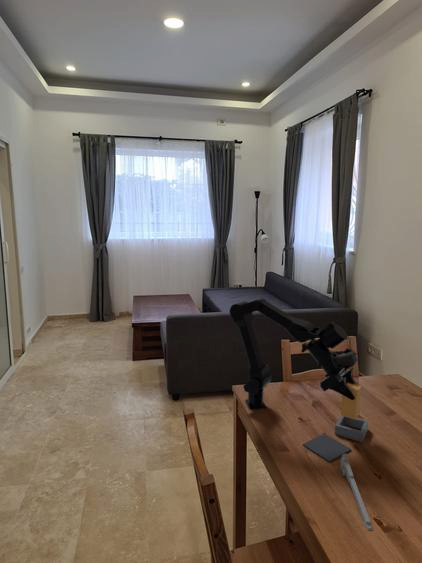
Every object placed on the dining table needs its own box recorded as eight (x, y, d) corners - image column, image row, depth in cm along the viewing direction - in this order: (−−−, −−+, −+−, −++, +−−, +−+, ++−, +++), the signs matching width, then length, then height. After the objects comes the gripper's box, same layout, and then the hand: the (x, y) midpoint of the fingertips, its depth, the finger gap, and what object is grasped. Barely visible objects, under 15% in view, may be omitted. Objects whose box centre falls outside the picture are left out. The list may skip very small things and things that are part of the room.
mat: (302, 445, 116) (302, 443, 116) (324, 434, 122) (324, 433, 122) (329, 462, 108) (329, 460, 108) (351, 450, 114) (351, 448, 113)
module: (341, 415, 121) (342, 387, 119) (345, 409, 124) (347, 382, 123) (355, 419, 118) (357, 391, 116) (359, 413, 122) (361, 385, 120)
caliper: (340, 471, 105) (341, 450, 104) (344, 471, 105) (345, 450, 104) (367, 531, 85) (369, 506, 84) (372, 531, 85) (374, 506, 84)
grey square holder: (334, 434, 122) (335, 425, 122) (341, 422, 129) (341, 414, 129) (362, 442, 118) (363, 433, 117) (367, 429, 125) (368, 421, 124)
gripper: (332, 350, 112) (369, 395, 107) (350, 335, 127) (383, 373, 122) (305, 369, 118) (339, 413, 113) (326, 352, 133) (356, 390, 128)
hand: (356, 396), depth 119 cm, fingers closed on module, 4 cm apart
